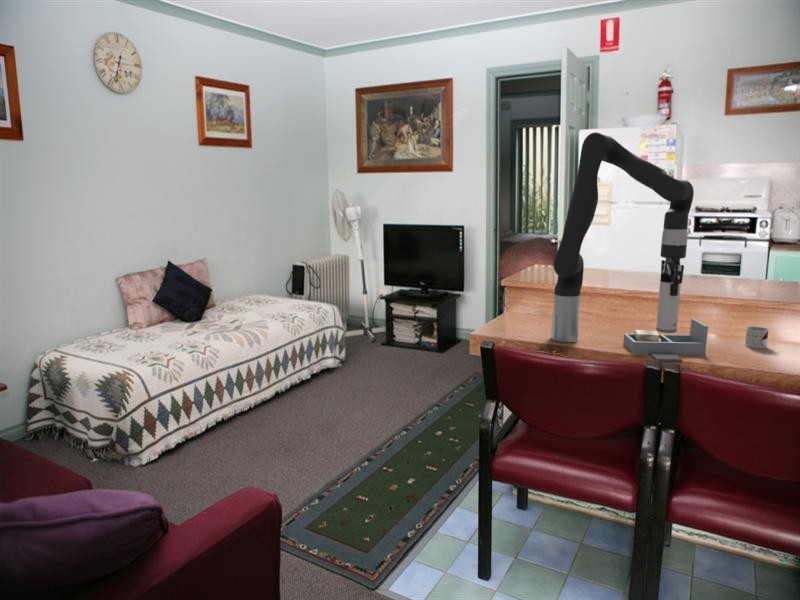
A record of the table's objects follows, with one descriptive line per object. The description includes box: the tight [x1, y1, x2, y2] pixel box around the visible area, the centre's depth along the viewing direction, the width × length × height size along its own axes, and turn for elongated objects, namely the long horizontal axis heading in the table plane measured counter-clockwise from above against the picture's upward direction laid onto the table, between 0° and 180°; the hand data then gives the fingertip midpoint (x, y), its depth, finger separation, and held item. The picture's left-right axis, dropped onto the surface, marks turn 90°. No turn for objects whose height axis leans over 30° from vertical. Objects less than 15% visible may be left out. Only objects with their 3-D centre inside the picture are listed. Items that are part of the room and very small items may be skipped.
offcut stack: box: [634, 329, 661, 342], centre depth 214 cm, size 8×7×6 cm
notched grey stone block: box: [744, 326, 769, 350], centre depth 218 cm, size 10×7×7 cm, turn 149°
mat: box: [648, 352, 683, 363], centre depth 203 cm, size 8×8×1 cm
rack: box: [622, 318, 709, 356], centre depth 213 cm, size 24×12×10 cm, turn 85°
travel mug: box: [655, 271, 682, 334], centre depth 200 cm, size 6×7×20 cm
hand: (669, 293), depth 199 cm, fingers closed on travel mug, 6 cm apart
